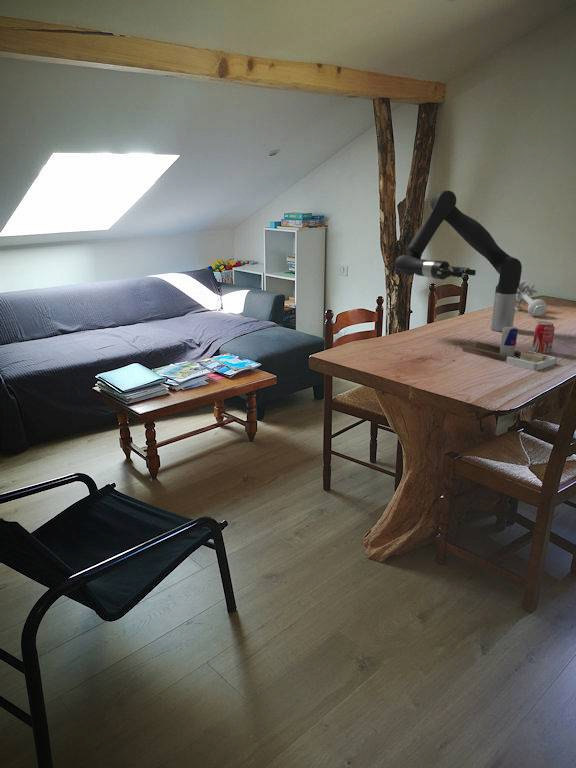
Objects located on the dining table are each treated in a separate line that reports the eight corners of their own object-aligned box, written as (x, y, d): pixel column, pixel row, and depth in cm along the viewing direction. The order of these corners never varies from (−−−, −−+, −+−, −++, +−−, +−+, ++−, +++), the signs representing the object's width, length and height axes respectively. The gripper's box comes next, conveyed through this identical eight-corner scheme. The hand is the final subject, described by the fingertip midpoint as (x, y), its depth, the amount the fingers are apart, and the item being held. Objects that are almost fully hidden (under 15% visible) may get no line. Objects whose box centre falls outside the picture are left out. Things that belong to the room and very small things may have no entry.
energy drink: (514, 360, 215) (518, 329, 211) (499, 358, 217) (503, 328, 213) (513, 356, 220) (518, 326, 216) (499, 355, 222) (503, 325, 218)
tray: (526, 356, 219) (527, 350, 219) (556, 364, 210) (557, 357, 210) (505, 363, 211) (506, 356, 210) (536, 370, 202) (537, 364, 201)
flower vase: (541, 329, 291) (520, 308, 312) (558, 297, 281) (535, 277, 302) (519, 326, 288) (499, 304, 309) (535, 293, 279) (513, 273, 299)
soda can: (534, 349, 230) (538, 320, 226) (552, 351, 227) (557, 322, 223) (529, 352, 225) (534, 323, 221) (548, 355, 221) (553, 325, 217)
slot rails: (478, 346, 234) (479, 341, 233) (520, 356, 220) (521, 351, 219) (462, 350, 227) (462, 346, 227) (504, 361, 213) (505, 356, 213)
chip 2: (535, 363, 212) (536, 352, 211) (545, 365, 209) (547, 355, 208) (530, 365, 209) (531, 354, 208) (540, 367, 207) (542, 357, 205)
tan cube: (524, 360, 215) (526, 350, 213) (534, 363, 212) (536, 353, 210) (519, 362, 212) (521, 352, 211) (529, 365, 209) (531, 354, 208)
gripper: (425, 261, 231) (458, 265, 219) (447, 259, 239) (480, 262, 227) (424, 280, 234) (456, 284, 221) (445, 276, 242) (478, 281, 230)
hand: (468, 273), depth 224 cm, fingers open, 8 cm apart
